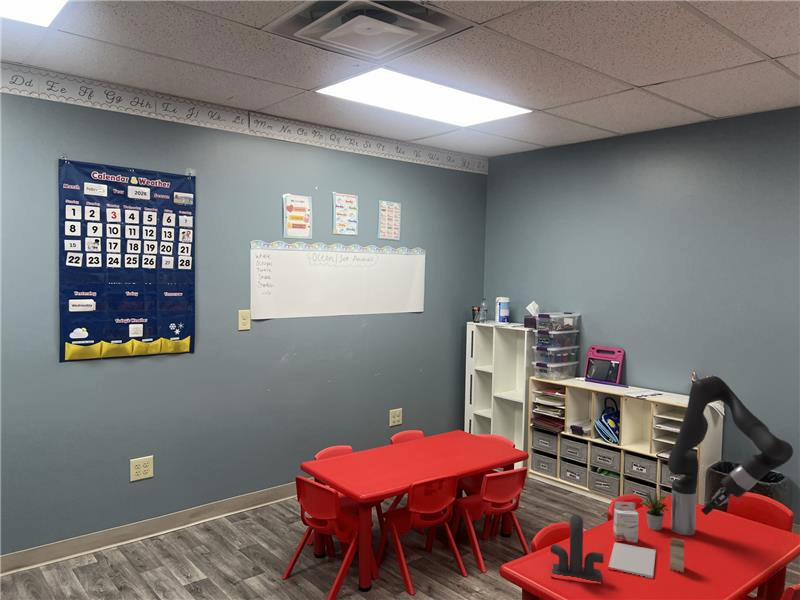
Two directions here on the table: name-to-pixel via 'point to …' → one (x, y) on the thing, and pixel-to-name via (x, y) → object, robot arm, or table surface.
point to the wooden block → (677, 554)
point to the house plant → (655, 511)
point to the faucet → (577, 555)
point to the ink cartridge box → (625, 522)
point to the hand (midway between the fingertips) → (706, 509)
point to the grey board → (633, 559)
